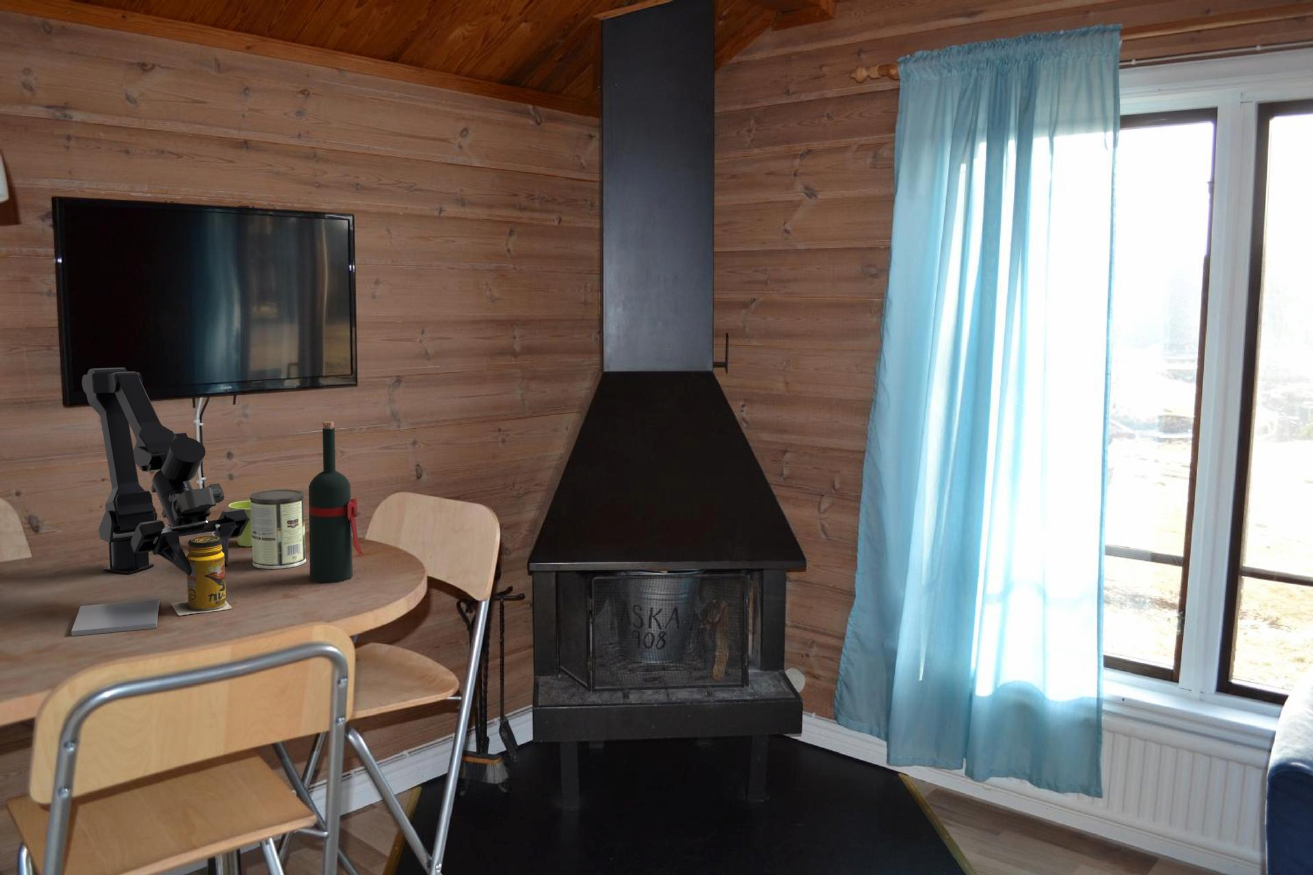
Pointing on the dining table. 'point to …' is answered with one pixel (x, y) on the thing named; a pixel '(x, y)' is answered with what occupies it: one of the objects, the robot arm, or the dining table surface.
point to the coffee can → (278, 528)
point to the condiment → (205, 577)
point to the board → (116, 617)
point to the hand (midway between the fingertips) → (208, 570)
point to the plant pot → (247, 533)
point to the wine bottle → (331, 519)
